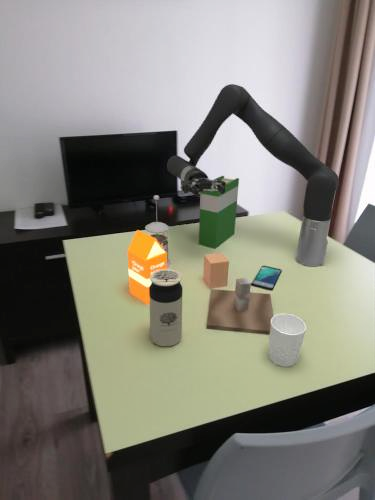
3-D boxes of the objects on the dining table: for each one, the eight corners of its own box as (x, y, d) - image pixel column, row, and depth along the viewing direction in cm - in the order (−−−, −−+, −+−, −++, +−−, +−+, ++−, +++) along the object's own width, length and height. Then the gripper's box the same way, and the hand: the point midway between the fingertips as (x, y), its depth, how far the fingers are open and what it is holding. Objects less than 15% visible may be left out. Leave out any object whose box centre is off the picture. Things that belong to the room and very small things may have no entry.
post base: (269, 297, 111) (274, 268, 106) (275, 335, 94) (280, 302, 90) (211, 292, 112) (212, 263, 108) (206, 328, 96) (208, 296, 92)
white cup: (262, 346, 90) (266, 313, 86) (292, 345, 91) (298, 312, 87) (271, 369, 83) (276, 335, 79) (304, 368, 84) (311, 334, 80)
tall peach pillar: (220, 276, 121) (221, 252, 117) (227, 286, 116) (229, 261, 112) (203, 279, 119) (204, 254, 115) (209, 288, 114) (210, 263, 110)
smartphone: (250, 284, 116) (262, 264, 129) (250, 286, 117) (262, 266, 129) (272, 290, 114) (282, 269, 126) (272, 292, 114) (282, 271, 126)
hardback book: (218, 230, 157) (222, 175, 147) (234, 234, 154) (239, 178, 143) (198, 244, 144) (200, 185, 133) (215, 249, 140) (218, 188, 130)
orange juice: (149, 283, 116) (147, 226, 107) (167, 295, 111) (167, 235, 102) (129, 292, 111) (125, 233, 102) (147, 305, 106) (145, 242, 97)
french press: (138, 266, 126) (135, 197, 115) (153, 252, 136) (152, 188, 125) (164, 272, 123) (163, 201, 112) (177, 257, 133) (178, 191, 122)
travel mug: (152, 326, 97) (150, 267, 89) (182, 327, 96) (183, 268, 89) (148, 346, 89) (146, 284, 82) (180, 348, 89) (181, 285, 81)
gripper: (174, 169, 122) (189, 181, 109) (213, 166, 126) (232, 178, 113) (174, 190, 126) (188, 205, 112) (212, 187, 130) (231, 201, 116)
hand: (210, 192), depth 112 cm, fingers open, 8 cm apart
